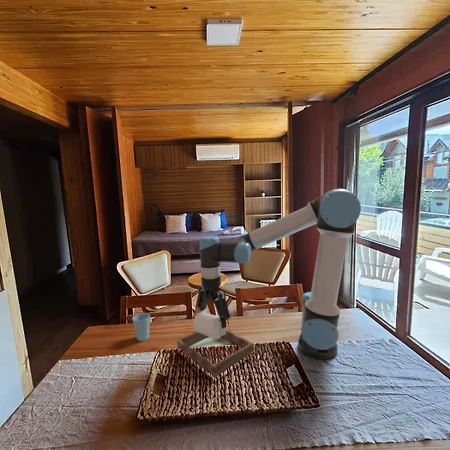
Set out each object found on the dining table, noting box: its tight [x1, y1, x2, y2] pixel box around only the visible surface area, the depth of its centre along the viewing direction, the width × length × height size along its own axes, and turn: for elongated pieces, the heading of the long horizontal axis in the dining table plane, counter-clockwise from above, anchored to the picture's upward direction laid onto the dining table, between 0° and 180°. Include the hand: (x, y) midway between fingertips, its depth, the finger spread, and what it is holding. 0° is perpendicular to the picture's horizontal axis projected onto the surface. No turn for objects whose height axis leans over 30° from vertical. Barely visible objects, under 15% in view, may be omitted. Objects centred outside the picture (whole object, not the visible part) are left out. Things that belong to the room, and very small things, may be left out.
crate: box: [176, 328, 255, 377], centre depth 108 cm, size 24×20×6 cm
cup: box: [131, 312, 151, 342], centre depth 123 cm, size 8×8×10 cm
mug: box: [192, 311, 223, 339], centre depth 106 cm, size 12×10×8 cm
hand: (213, 329), depth 107 cm, fingers closed on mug, 10 cm apart
